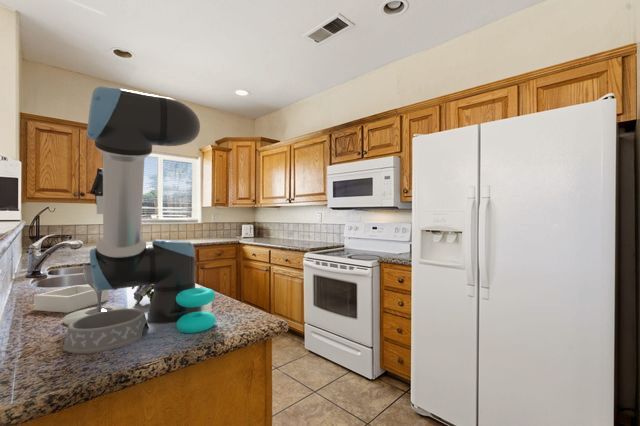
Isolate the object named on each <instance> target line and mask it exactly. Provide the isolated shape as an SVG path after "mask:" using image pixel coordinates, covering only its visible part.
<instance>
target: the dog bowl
mask: <svg viewBox="0 0 640 426" xmlns="http://www.w3.org/2000/svg"><path fill="white" fill-rule="evenodd" d="M148 323H149V322H148V319H147V316H146V315H145V312H144V311H143V310H142V309H138V308H124V309H115V310H109V311H103V312H99V313H94V314H91V315H87V316H85V317H82V318H79V319H77V320H75V321H73V322H72V323H70V324H69V325H67V331H66V334H65V339H64V342H63V345H62V346H63V347H62V348H63V350H64V351H65V352H68V353H73V354H90V353H91V354H92V353H100V352H105V351H110V350H114V349H117V348H118V349H119V348H121V347H125V346H127V345H130V344H132V343H135V342H137V341H139V340H141V339H142V336H143V331H144V328H147V327H148V328H147V329H150V326H149V324H148Z"/></svg>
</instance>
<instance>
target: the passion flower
mask: <svg viewBox="0 0 640 426" xmlns="http://www.w3.org/2000/svg"><path fill="white" fill-rule="evenodd" d="M135 287H137V288H136V290H135V291H134V292H133V295H134V296H133V299H134V300H135V301H136V302H135V304H134V306H139V305H140V304H141V303H140V302H141V301H143V299H144V297H145V296H147V298H148V299H149V304H150V303H151V300H152V296H153V293H154V284H150V285H142V286H135ZM135 287H131V289H132V290H133V289H135ZM152 290H153V291H152Z"/></svg>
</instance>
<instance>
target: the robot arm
mask: <svg viewBox="0 0 640 426" xmlns="http://www.w3.org/2000/svg"><path fill="white" fill-rule="evenodd" d="M87 120H88V122H87V126H86V127H87V128H86V129H87V130H86V137H87V138H88V139H90V140H93V141H94V147H95V149H96V150H98V152H100V153H101V154H102V168H96V175H95V178H94V181H93V184H92V186H91V189H90V192H89V193H90V195H93V196H94V198H95V205H96V215H102V229H103V230H102V232H103V233H102V238H100V239H99V240H98V241H97V243H96V246H95V247H94V248H92V249H90V250H89V263H90V264H91V270H92V276H93V281H94V284H95V287H96V288H97V289H99V290H108V291H110V290H111V291H112V290H113V291H116V290H118V289H124V288H125V289H126V288H132V287H134V288H135V286H136V287H139V286H142V285H150V284H154V289H153V291H154V293H153V296H152V300H151V303H150V302H149V307H148V309H147V315H146V316H147V322H148V321H149V322H150V323H155V324H171V323H172V324H173V323H177V321H178V320H179V319H180V318H181V317H182V316H184V315H186V314H188V313H192V312H198V311H203V310H202V309H203V308H202V307H203V306H199V307H184V306H181V305H179V304H178V303H177V302H176V296H177V295H178V294H179V293H180V292H182V291H184V290H188V289H194V288H196V260H195V259H196V254H195V253H196V252H195V245H194V244H193V243H192V242H190V241H185V240H176V239H175V240H174V239H153V240H152V242H151V244H147V241H146V239H144V238H143V237H141V235H142V231H141V230H142V215H143V197H144V196H143V194H144V193H143V192H144V179H145V177H144V175H145V158H147V157H149V156H150V155H151V154H152V153H153V146H160V147H180V146H182V145H187V144H190V143H192V142H193V141H194V140H196V138H198V136H199V134H200V129H201V123H200V119H199V117H198V115H197V114H196V112H195V111H194V110H193V109H192V108H190V107H189V106H188V105H186V104H185V103H183V102H181V101H179V100H176V99H175V98H172V97H167V96H159V95H155V94H148V93H143V92H139V91H134V90H129V89H125V88H121V87H111V86H97V87H95V88H94V89H93V91H92V94H91V99H90V105H89V111H88V119H87Z"/></svg>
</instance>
